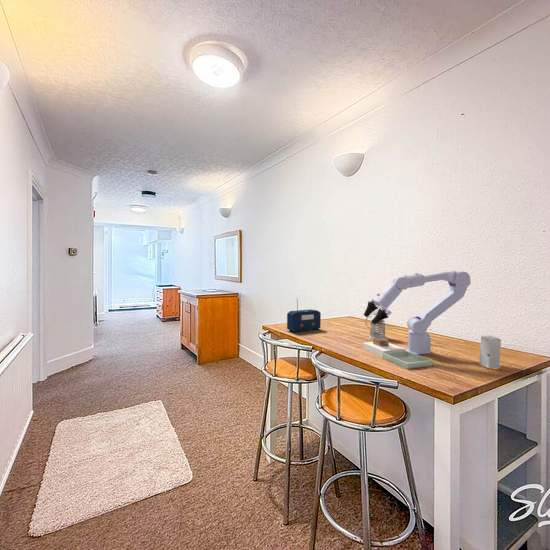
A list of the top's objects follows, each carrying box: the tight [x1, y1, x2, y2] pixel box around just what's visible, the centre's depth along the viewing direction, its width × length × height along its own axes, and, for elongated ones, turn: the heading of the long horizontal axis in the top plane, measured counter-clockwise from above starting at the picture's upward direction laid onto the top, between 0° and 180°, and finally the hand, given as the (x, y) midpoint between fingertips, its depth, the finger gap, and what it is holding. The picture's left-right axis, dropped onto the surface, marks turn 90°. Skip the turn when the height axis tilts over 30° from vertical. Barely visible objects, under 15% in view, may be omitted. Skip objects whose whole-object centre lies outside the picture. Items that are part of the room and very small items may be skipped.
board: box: [362, 341, 406, 358], centre depth 141 cm, size 12×15×3 cm
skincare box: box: [478, 335, 502, 369], centre depth 120 cm, size 6×4×12 cm
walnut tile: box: [372, 338, 390, 346], centre depth 143 cm, size 5×5×2 cm
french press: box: [365, 293, 388, 340], centre depth 170 cm, size 10×12×25 cm
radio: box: [286, 298, 322, 333], centre depth 189 cm, size 21×9×20 cm, turn 119°
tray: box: [381, 351, 434, 370], centre depth 127 cm, size 13×15×2 cm
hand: (369, 319), depth 144 cm, fingers open, 7 cm apart
